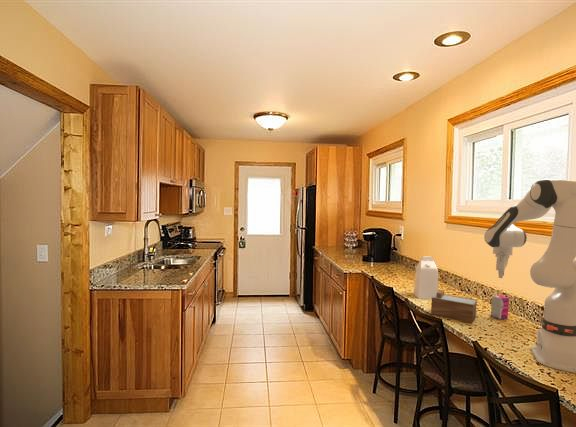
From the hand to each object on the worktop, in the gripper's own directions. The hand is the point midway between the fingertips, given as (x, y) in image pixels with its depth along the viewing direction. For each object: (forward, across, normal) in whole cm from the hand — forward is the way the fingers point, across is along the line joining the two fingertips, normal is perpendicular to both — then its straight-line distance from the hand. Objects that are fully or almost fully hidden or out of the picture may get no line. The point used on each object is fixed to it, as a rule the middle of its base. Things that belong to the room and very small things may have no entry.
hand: (501, 276), depth 188 cm
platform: (+23, +6, +18) cm, 29 cm away
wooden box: (+22, -14, +20) cm, 33 cm away
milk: (+22, +16, +42) cm, 50 cm away
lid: (+14, -14, +20) cm, 28 cm away
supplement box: (+22, 0, 0) cm, 22 cm away
